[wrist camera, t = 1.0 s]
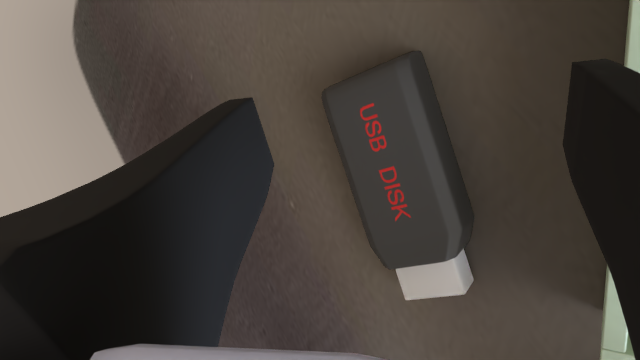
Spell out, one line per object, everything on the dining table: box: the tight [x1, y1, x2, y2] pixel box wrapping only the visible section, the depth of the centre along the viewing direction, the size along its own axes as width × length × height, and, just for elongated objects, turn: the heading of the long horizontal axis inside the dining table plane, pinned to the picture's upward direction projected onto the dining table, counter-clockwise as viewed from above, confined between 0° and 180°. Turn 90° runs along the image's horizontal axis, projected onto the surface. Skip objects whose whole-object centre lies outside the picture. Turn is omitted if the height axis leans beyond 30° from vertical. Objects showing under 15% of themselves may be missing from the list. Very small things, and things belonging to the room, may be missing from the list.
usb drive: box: [322, 51, 474, 300], centre depth 24 cm, size 5×12×3 cm, turn 22°
